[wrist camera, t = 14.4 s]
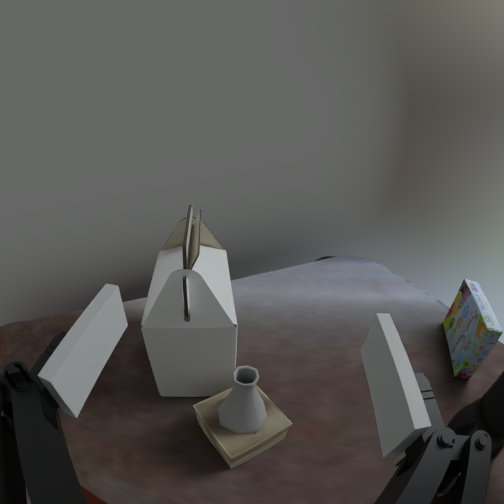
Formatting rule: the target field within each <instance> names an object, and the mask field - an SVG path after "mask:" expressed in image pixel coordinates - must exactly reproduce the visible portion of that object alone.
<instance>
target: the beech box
mask: <svg viewBox="0 0 504 504" xmlns="http://www.w3.org/2000/svg"><path fill="white" fill-rule="evenodd" d="M232 388H233V387H232ZM232 388H230V389H228V390H226V391H224V392H222V393H220V394H217V395H215V396H213V397H211V398H208V399H206V400H204V401H202V402H199V403H197V404H194V405H193V408H194V409H195V411H196V416H197V421H198V424H199V425H200V427H201V428H202V430H203V431H204V433H205V434H206V436H207V437H208V438H209V440H210V441H211V443H212V444H213V445H214V447H215V448H216V450H217V451H218V452H219V454H220V455H221V456H222V458H223V459H224V460H225V462H226V463H227V464H228V465H229V467H230V468H231V469H232V468H234V467H236V466H238V465H240V464H242V463H244V462H246V461H247V460H249V459H251V458H253V457H255V456H256V455H258V454H260V453H262V452H263V451H265V450H267V449H268V448H270V447H272V446H273V445H275V444H277V443H278V442H280V441H281V440H283V439H284V438H285V435H286V433H287V430H288V428H289V427H290V426H291V425H292V422H291V421H290V420H289V419H288V418H287V417H286V416H285V415H284V414H283V413H282V412H281V411H280V410H279V409H278V408H277V407H276V406H275V405H274V404H273V403H272V402H271V400H270V399H269V398H268V397H267V396H266V395H265V394H264V393H263V392H262V391H261V390H260V388H259V387H258V386H257V385H256V389H257V391H258V393H259V395H260V397H261V398H262V400H263V402H264V406H265V410H266V414H267V418H266V420H265V422H264V423H263V425H262V427H261V428H260V430H259V432H251V433H242V434H237V433H235V432H233V431H231V430H229V429H227V428H225V427H223V426H221V425H220V423H219V415H218V408H219V406H220V405H221V404H222V402H223V401H224V400H225V398H226V397H227V396H228V394H229V393H230V392H231V391H232Z"/></svg>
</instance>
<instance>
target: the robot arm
mask: <svg viewBox="0 0 504 504" xmlns="http://www.w3.org/2000/svg"><path fill="white" fill-rule="evenodd" d="M127 326H128V324H127V320H126V316H125V312H124V308H123V304H122V300H121V296H120V292H119V287H118V286H116V285H111V284H106V285H105V286H104V287H103V288H102V290H101V291H100V292H99V293H98V295H97V296H96V297H95V298H94V300H93V301H92V302H91V303H90V304H89V306H88V307H87V308H86V309H85V311H84V312H83V313H82V315H81V316H80V317H79V318H78V320H77V321H76V322H75V324H74V325H73V326H72V328H71V329H70V330H69V332H68V333H66V332H61V333H60V334H59V335H57V336H56V337H55V338H54V339H53V340H52V342H51V343H50V344H49V346H48V347H47V348H46V350H45V352H44V353H43V354H42V355H41V357H40V358H39V360H38V361H37V362H36V364H35V365H34V367H33V368H32V370H31V371H30V372H28V370H27V368H26V367H25V365H24V364H23V363H21V362H19V361H14V362H12V363H9V364H8V365H7V366H6V367H5V369H4V370H3V374H2V376H3V377H4V378H3V377H2V376H1V374H0V504H27V499H26V487H27V491H28V494H29V497H30V500H31V504H88V503H87V501H86V499H85V496H84V494H83V491H82V489H81V486H80V484H79V481H78V478H77V476H76V473H75V470H74V467H73V464H72V461H71V458H70V455H69V452H68V448H67V445H66V441H65V438H64V434H63V430H62V426H61V422H60V418H59V414H58V412H57V408H58V406H60V408H61V409H62V410H63V411H64V412H65V413H67V414H69V415H71V416H73V417H76V418H77V417H78V415H79V413H80V411H81V409H82V407H83V405H84V403H85V401H86V399H87V397H88V395H89V393H90V391H91V390H92V388H93V386H94V384H95V382H96V380H97V378H98V377H99V375H100V373H101V371H102V369H103V367H104V366H105V364H106V362H107V360H108V359H109V357H110V355H111V353H112V351H113V350H114V348H115V346H116V345H117V343H118V341H119V339H120V338H121V336H122V334H123V333H124V331H125V329H126V328H127ZM360 352H361V356H362V360H363V364H364V368H365V372H366V376H367V380H368V384H369V389H370V393H371V398H372V402H373V407H374V412H375V417H376V422H377V427H378V432H379V437H380V443H381V449H382V455H383V458H388V457H394V456H399V455H400V454H401V453H402V452H403V451H405V453H406V456H405V457H404V458H403V459H402V460H400V461H399V462H398V463H397V464H396V465H395V466H398V465H399V467H398V469H397V470H396V472H395V474H394V475H393V477H392V478H391V480H390V482H389V483H388V485H387V486H386V488H385V489H384V490H383V492H382V493H381V495H380V496H379V498H378V499H377V500H376V502H375V503H374V504H484V503H485V498H486V492H487V486H488V479H489V471H490V462H491V461H493V460H494V459H495V458H496V457H497V456H498V455H499V453H500V452H501V451H502V449H503V448H504V371H503V373H502V374H501V375H500V376H499V378H498V379H497V380H496V381H495V382H494V384H493V385H492V386H491V387H490V388H489V389H488V391H487V392H486V393H485V394H484V395H483V396H482V397H481V398H479V399H478V400H476V401H474V402H472V403H470V404H468V405H467V406H465V407H463V408H462V409H461V410H460V411H459V412H458V413H457V414H456V415H455V416H454V417H453V418H452V420H451V421H450V423H449V426H448V427H445V425H444V423H443V420H442V417H441V414H440V411H439V408H438V405H437V402H436V399H434V394H433V391H432V388H431V386H430V383H429V381H428V379H427V378H426V377H425V376H424V375H423V373H422V372H420V373H414V372H413V370H412V367H411V365H410V362H409V359H408V357H407V354H406V352H405V349H404V347H403V344H402V342H401V339H400V337H399V335H398V332H397V330H396V328H395V325H394V323H393V321H392V318H391V316H390V314H381V313H376V316H375V318H374V320H373V323H372V325H371V328H370V330H369V332H368V335H367V337H366V339H365V342H364V344H363V346H362V348H361V351H360ZM2 411H3V415H2V416H1V414H2ZM25 483H26V486H25Z"/></svg>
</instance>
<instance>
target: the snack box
mask: <svg viewBox="0 0 504 504" xmlns="http://www.w3.org/2000/svg"><path fill="white" fill-rule="evenodd" d="M443 326H444V330H445V334H446V338H447V342H448V347H449V351H450V356H451V361H452V366H453V372H454V377H458V378H464V379H470V377H471V376H472V375H473V374H474V372H475V371H476V370H477V369H478V367H479V366H480V365H481V363H482V362H483V361H484V359H485V358H486V356H487V355H488V354H489V352H490V351H491V349H492V348H493V346H494V345H495V343H496V342H497V340H498V339H499V337H500V336H501V334H502V333H503V332H502V330H501V327H500V325H499V323H498V321H497V319H496V316H495V314H494V312H493V310H492V308H491V306H490V304H489V302H488V300H487V298H486V297H485V295H484V293H483V291H482V289H481V287H480V286H479V284H478V283H477V282H474V281H470V280H467V279H464V281H463V283H462V285H461V287H460V289H459V292H458V294H457V296H456V298H455V300H454V302H453V304H452V306H451V308H450V310H449V312H448V314H447V315H446V317H445V319H444V321H443Z"/></svg>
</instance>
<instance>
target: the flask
mask: <svg viewBox="0 0 504 504" xmlns="http://www.w3.org/2000/svg"><path fill="white" fill-rule="evenodd" d="M232 375H233V381H234V385H233V388H232V391H231V392H230V393H229V394H228V396H227V397H226V398H225V400H224V401H223V402H222V404H221V405H220V406H219V408H218V415H219V423H220V425H221V426H223V427H225V428H227V429H229V430H231V431H233V432H235V433H237V434H242V433H251V432H259V430H260V428H261V427H262V425H263V423H264V422H265V420H266V418H267V414H266V410H265V406H264V402H263V400H262V398H261V397H260V395H259V393H258V391H257V389H256V383H257V381H258V380H259V375H258V371H257V369H255V368H252V367H250V366H238V367H237V368H236V369H235V371H234V372H233V373H232Z"/></svg>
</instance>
